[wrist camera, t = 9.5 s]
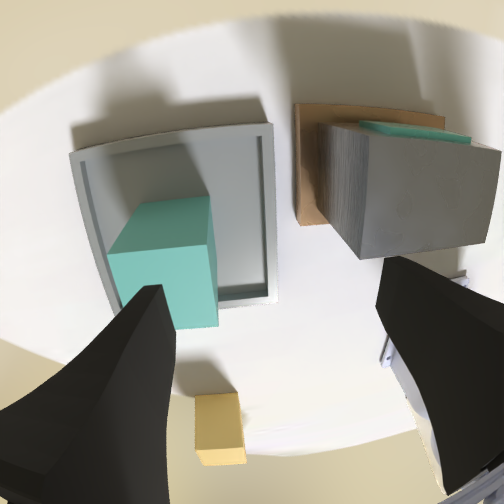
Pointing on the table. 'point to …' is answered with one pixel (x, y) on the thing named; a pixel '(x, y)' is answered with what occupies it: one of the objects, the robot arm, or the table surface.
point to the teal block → (171, 258)
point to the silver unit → (392, 179)
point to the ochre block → (219, 429)
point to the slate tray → (187, 186)
